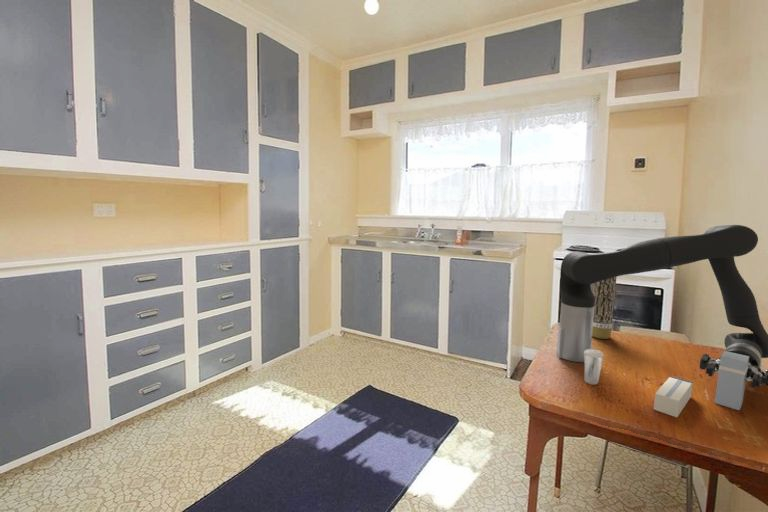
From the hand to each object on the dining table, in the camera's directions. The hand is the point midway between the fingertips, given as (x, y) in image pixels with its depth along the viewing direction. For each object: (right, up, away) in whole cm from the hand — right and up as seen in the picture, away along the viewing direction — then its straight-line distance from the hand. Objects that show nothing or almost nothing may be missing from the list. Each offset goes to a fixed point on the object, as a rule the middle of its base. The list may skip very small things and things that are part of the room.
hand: (731, 378), depth 90 cm
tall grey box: (+1, -7, +2) cm, 7 cm away
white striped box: (-12, -7, +2) cm, 14 cm away
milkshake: (-26, -5, +13) cm, 30 cm away
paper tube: (-4, -1, +48) cm, 48 cm away
